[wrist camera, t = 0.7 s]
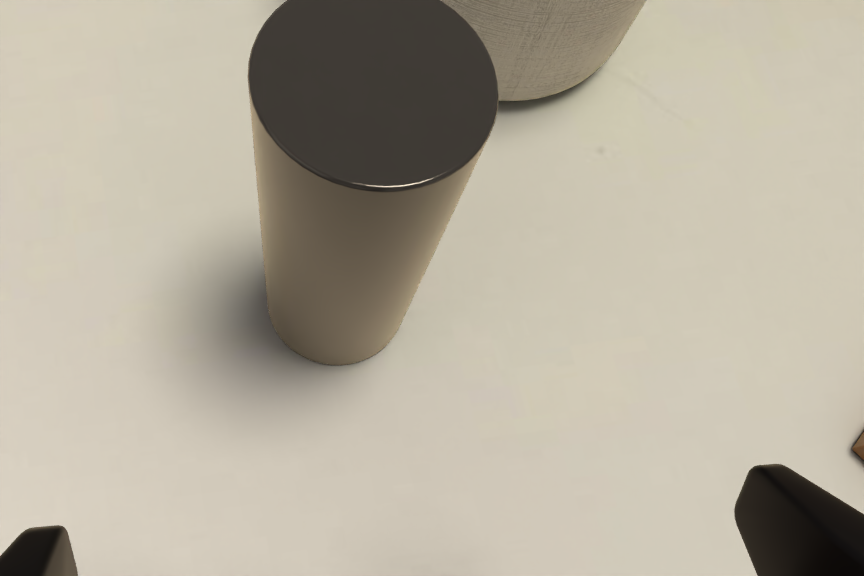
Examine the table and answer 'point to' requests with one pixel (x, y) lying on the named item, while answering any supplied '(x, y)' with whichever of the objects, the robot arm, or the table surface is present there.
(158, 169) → the table surface
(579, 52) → the planter
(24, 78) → the table surface
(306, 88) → the dark grey cylinder
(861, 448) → the board
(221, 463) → the table surface
